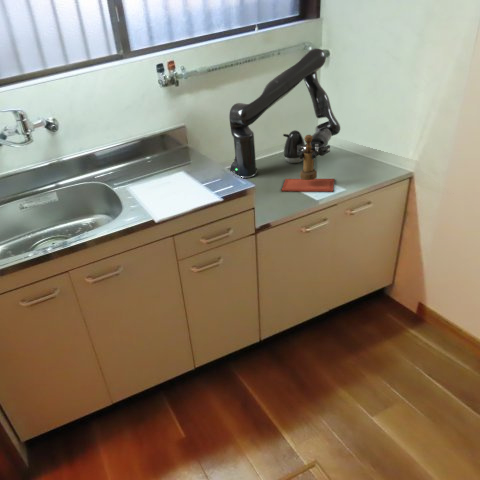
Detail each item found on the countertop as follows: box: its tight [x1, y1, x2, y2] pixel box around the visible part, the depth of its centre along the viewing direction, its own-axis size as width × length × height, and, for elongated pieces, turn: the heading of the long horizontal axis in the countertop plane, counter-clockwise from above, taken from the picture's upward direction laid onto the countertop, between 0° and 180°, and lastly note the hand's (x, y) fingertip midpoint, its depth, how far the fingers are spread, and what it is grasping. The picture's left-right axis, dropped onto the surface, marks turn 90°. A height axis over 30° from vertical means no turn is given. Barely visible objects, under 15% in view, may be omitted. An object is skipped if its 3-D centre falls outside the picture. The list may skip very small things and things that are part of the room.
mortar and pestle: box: [299, 134, 318, 180], centre depth 164 cm, size 7×6×18 cm
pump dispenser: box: [282, 129, 306, 164], centre depth 192 cm, size 10×10×15 cm
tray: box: [281, 178, 335, 193], centre depth 170 cm, size 20×12×1 cm, turn 67°
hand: (306, 156), depth 162 cm, fingers closed on mortar and pestle, 4 cm apart
